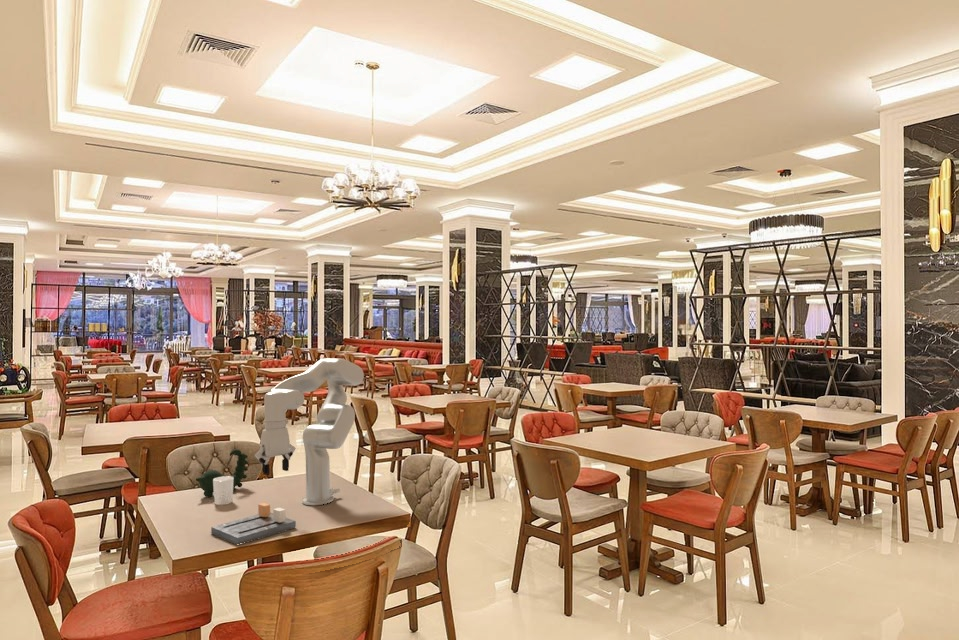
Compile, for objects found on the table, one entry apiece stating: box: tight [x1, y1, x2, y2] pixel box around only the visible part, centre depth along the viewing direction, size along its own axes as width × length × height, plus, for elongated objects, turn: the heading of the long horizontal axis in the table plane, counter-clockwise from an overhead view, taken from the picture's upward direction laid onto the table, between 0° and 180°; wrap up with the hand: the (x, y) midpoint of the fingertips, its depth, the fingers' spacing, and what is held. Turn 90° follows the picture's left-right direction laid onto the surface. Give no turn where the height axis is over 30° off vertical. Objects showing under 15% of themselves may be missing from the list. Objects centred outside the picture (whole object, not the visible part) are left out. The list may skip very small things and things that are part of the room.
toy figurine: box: [195, 448, 249, 498], centre depth 270 cm, size 9×19×25 cm
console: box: [210, 512, 297, 545], centre depth 219 cm, size 22×18×3 cm
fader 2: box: [272, 507, 287, 523], centre depth 222 cm, size 2×4×5 cm, turn 50°
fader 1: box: [257, 502, 271, 518], centre depth 228 cm, size 2×4×5 cm, turn 50°
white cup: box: [213, 475, 234, 506], centre depth 256 cm, size 8×8×10 cm
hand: (275, 472), depth 232 cm, fingers open, 7 cm apart
